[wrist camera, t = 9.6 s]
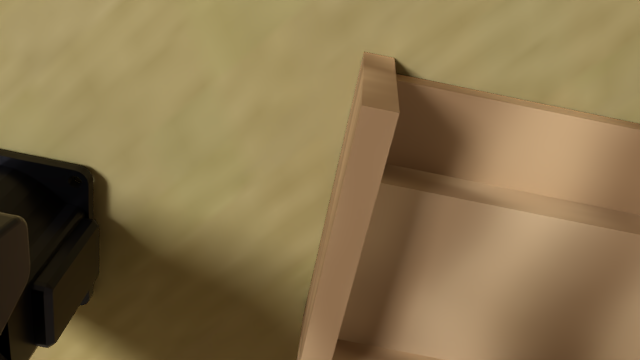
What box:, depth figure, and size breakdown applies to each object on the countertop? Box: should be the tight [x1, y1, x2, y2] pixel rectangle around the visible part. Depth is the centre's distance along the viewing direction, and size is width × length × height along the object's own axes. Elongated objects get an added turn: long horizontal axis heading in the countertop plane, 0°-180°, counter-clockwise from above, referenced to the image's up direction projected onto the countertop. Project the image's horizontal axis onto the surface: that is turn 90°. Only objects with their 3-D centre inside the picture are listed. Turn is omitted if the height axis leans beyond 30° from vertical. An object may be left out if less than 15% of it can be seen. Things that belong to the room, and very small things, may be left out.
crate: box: [297, 52, 640, 360], centre depth 21 cm, size 18×12×4 cm, turn 79°
